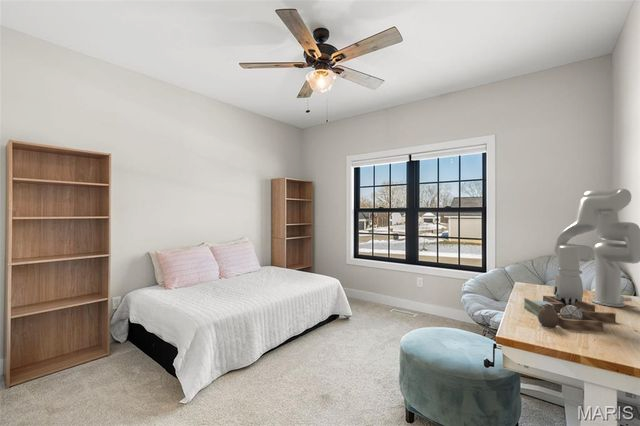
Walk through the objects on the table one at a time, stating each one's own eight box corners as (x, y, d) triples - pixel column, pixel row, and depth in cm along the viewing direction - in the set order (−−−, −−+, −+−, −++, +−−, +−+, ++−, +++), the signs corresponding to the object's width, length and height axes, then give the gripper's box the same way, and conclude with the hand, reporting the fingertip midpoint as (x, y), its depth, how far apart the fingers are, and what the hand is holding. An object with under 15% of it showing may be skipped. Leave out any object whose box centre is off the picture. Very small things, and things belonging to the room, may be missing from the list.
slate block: (545, 311, 140) (545, 301, 140) (554, 316, 134) (554, 305, 134) (531, 311, 141) (532, 300, 141) (539, 315, 135) (539, 304, 135)
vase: (554, 324, 124) (554, 303, 124) (562, 330, 117) (562, 308, 117) (535, 322, 126) (535, 301, 126) (541, 328, 119) (541, 306, 119)
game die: (577, 333, 123) (594, 319, 117) (555, 324, 125) (571, 310, 119) (570, 317, 130) (586, 303, 125) (550, 309, 132) (565, 294, 126)
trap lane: (574, 303, 152) (574, 294, 152) (642, 333, 115) (642, 320, 115) (511, 300, 157) (511, 291, 157) (558, 328, 119) (558, 315, 119)
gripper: (581, 271, 138) (580, 311, 138) (545, 270, 141) (545, 309, 141) (593, 275, 131) (592, 316, 131) (555, 273, 133) (555, 314, 133)
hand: (568, 312), depth 136 cm, fingers closed
